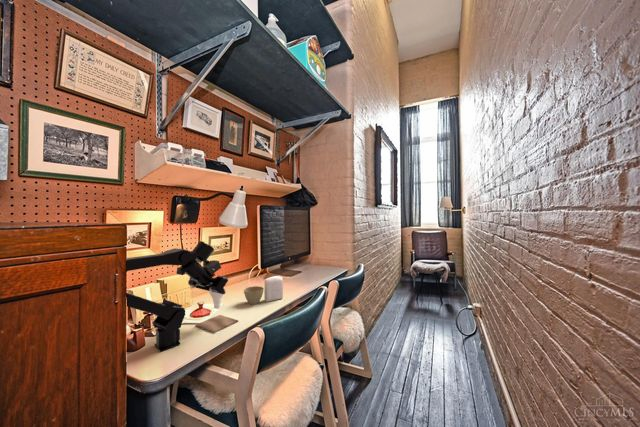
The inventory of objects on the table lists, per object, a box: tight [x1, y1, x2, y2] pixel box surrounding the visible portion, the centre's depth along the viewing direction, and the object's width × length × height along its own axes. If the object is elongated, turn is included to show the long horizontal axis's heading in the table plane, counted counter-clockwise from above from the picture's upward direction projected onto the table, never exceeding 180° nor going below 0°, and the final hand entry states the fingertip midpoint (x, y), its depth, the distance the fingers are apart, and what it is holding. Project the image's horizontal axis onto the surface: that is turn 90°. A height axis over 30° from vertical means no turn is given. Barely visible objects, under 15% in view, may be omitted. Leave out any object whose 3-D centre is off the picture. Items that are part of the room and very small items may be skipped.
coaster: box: [194, 314, 239, 334], centre depth 108 cm, size 12×12×1 cm
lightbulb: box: [208, 287, 226, 310], centre depth 109 cm, size 6×6×11 cm
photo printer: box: [263, 275, 284, 302], centre depth 138 cm, size 10×4×12 cm, turn 123°
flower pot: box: [243, 285, 265, 305], centre depth 133 cm, size 10×10×7 cm
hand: (219, 292), depth 110 cm, fingers closed on lightbulb, 6 cm apart
